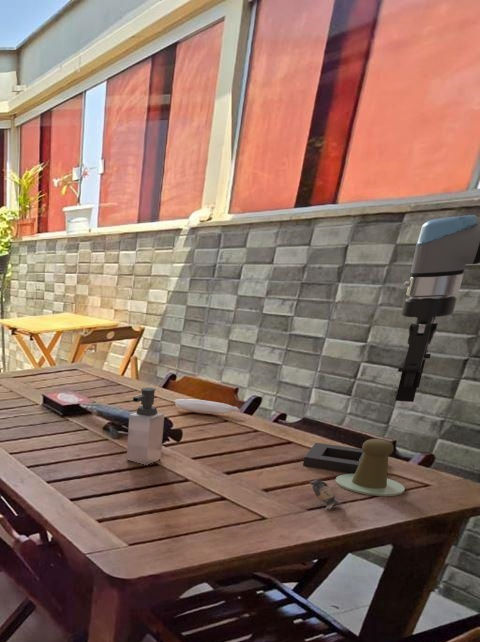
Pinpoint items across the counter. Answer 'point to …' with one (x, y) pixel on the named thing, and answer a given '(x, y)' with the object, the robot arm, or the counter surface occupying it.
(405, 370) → the robot arm
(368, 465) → the cork
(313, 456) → the frame
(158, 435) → the soap dispenser
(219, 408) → the white tapered cylinder
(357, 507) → the counter surface
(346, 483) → the coaster
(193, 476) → the counter surface
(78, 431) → the counter surface
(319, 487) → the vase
